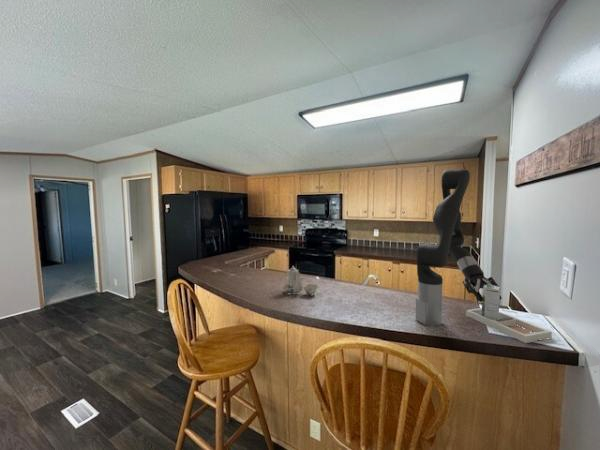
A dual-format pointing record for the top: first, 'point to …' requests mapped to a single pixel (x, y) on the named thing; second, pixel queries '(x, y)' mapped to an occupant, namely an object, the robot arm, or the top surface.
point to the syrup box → (491, 302)
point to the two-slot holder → (511, 321)
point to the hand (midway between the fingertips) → (490, 300)
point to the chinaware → (297, 283)
